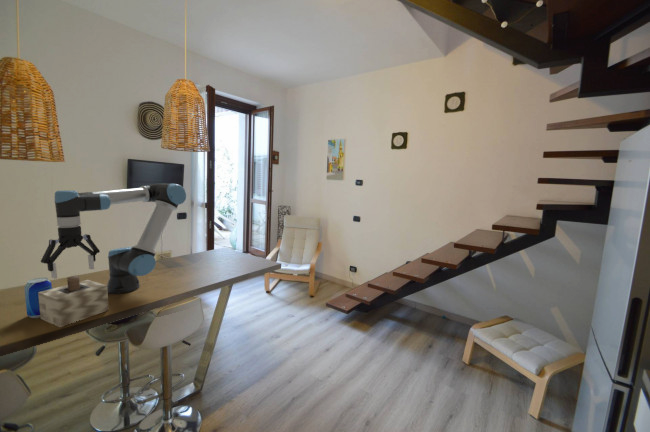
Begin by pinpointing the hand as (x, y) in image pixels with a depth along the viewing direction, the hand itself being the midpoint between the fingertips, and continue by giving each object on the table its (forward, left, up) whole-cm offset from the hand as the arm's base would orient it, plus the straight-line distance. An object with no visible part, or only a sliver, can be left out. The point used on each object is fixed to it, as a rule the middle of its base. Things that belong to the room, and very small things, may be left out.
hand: (74, 273), depth 125 cm
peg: (0, 0, -13) cm, 13 cm away
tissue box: (0, 0, -19) cm, 19 cm away
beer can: (+7, -13, -19) cm, 24 cm away
